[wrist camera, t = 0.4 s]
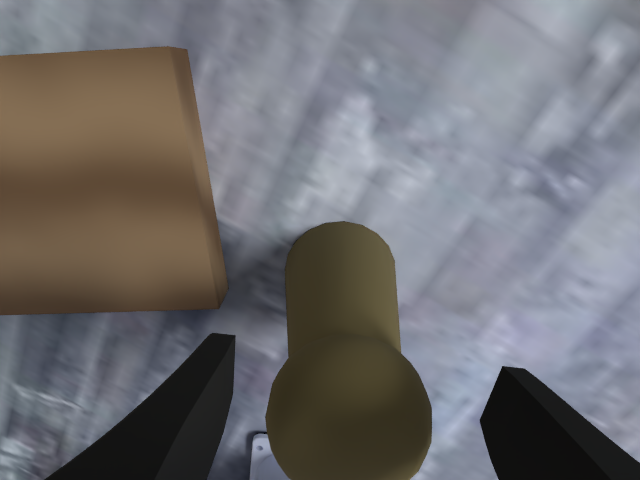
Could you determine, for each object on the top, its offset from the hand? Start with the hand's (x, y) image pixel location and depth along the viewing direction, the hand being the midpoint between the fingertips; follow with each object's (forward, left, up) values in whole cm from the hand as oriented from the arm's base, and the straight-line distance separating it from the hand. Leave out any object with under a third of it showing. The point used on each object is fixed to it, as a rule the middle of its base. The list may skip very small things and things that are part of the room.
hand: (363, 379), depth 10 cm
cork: (-2, 0, -10) cm, 11 cm away
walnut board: (+1, +13, -11) cm, 17 cm away
